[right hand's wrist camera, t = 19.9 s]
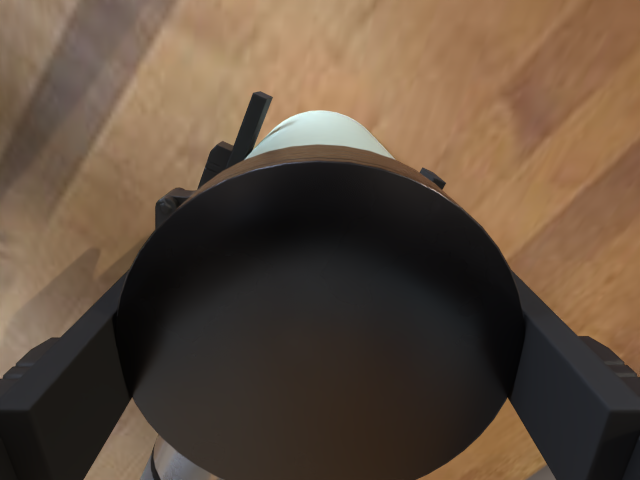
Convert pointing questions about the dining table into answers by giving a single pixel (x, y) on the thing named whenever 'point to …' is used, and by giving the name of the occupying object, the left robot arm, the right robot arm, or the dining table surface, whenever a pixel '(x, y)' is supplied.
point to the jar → (319, 133)
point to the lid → (319, 321)
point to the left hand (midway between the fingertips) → (351, 136)
